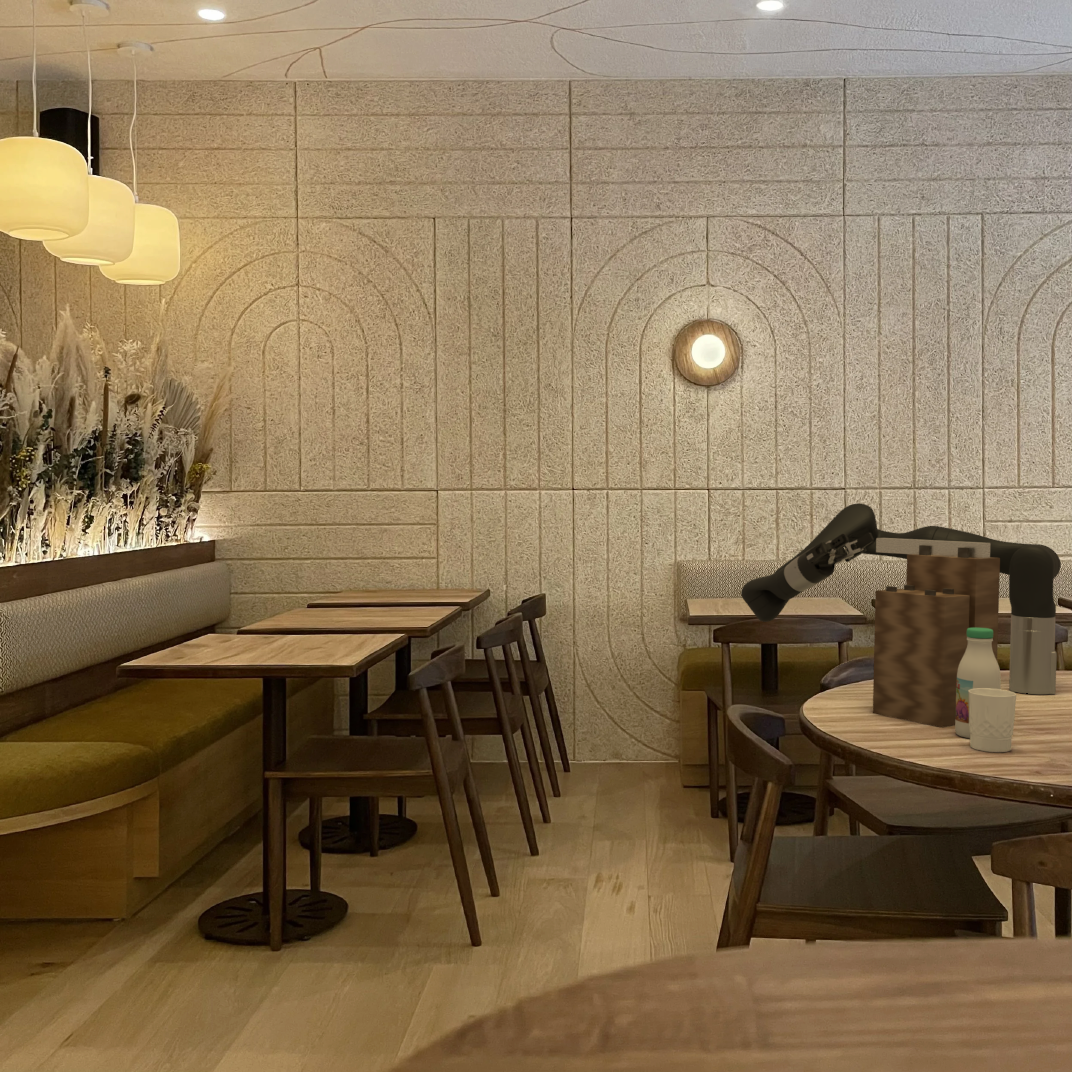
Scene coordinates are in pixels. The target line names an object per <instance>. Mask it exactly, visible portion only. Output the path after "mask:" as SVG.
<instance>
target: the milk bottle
mask: <svg viewBox="0 0 1072 1072" xmlns="http://www.w3.org/2000/svg"><path fill="white" fill-rule="evenodd" d="M967 640H968V645H967V648H966V651H965V654H964V656H963V658H962V660H961V662H960V664H959V667H958V672H957V683H956V713H955V725H954V730H955V731H954V732H955V734H956V735H957V736H959V737H961V738H967V739H970V731H969V704H968V690H970V689H976V688H990V689H1001V690H1002V685H1001V684H1002V683H1001V680H1002V679H1001V678H1002V677H1001V670H1000V666H999V663H998V660H997V661H996V658H995V656H994V653H993V650H992V641H993V630H992V629H989V628H968V629H967Z"/></svg>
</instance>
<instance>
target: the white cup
mask: <svg viewBox="0 0 1072 1072" xmlns="http://www.w3.org/2000/svg"><path fill="white" fill-rule="evenodd" d="M1016 702H1017V692H1014V691H1011V690H1006V689H1002V688H1001V689H990V688H976V689H970V690H968V704H969V731H970V738H969V740H970V742H969V743H970V746H969V747H970V748H971V749H974V750H977V751H981V752H987V753H1008V752H1010V751H1012V738H1013V735H1014V726H1015V719H1016V718H1015V716H1016V715H1015V714H1016V706H1017V705H1016Z"/></svg>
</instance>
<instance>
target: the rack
mask: <svg viewBox="0 0 1072 1072" xmlns="http://www.w3.org/2000/svg"><path fill="white" fill-rule="evenodd" d="M1000 574H1001V573H1000V558H993V557H990V558H969V548H962V547H958V557H949V556H932V555H930V546H927V545H919V555H915V554H910V555H907V559H906V583H905V584H904V585H903V588H898V587H897V586H889V585H888V586H886V587H885V589H881V590H875V593H874V594H875V595H874V596H875V597H874V602H875V603H874V605H875V606H874V608H875V609H874V643H873V644H874V645H873V647H874V649H873V650H874V651H873V682H872V683H873V686H872V687H873V691H872V714H875V715H878V716H883V717H889V718H893V719H899V720H903V721H908V722H913V723H918V724H923V725H928V726H933V727H937V728H938V727H939V728H945V727H950V726H955V713H956V683H957V672H958V667H959V664H960V662H961V660H962V658H963V656H964V654H965V651H966V648H967V645H968V640H967V629H968V628H989V629H992V630H993V641H992V650H993V653H994V656H995V658H996V661H997V662H998V645H999V643H998V641H999V638H998V637H999V636H998V635H999V607H1000V606H999V605H1000V604H999V601H1000Z"/></svg>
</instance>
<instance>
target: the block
mask: <svg viewBox="0 0 1072 1072" xmlns="http://www.w3.org/2000/svg"><path fill="white" fill-rule="evenodd" d="M919 545H927V546H930V555H932V556H949V557H958V547H962V548H969V558H990V543H982V542H961V541H940V540H918V539H897V538H876V552H880V553H898V554H915V555H919Z"/></svg>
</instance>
